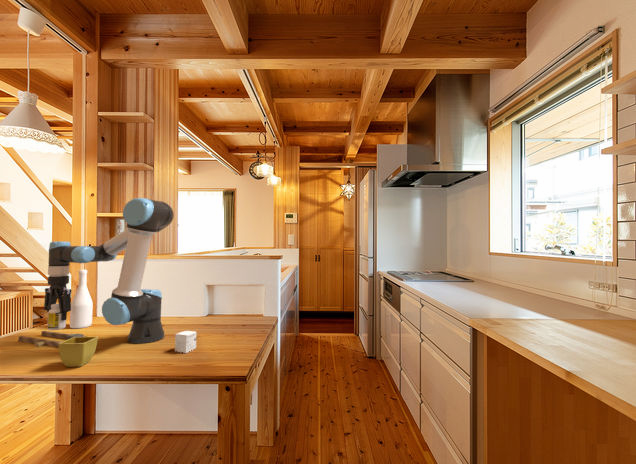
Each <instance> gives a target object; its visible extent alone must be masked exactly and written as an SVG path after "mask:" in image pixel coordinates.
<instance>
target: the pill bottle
mask: <svg viewBox="0 0 636 464" xmlns="http://www.w3.org/2000/svg"><path fill="white" fill-rule="evenodd" d="M59 312H60V308H59V302H58V303H56V304H52V305H51V310H49V312H47V316H48V318H47V323H48V327H47V331H58V330H63V329H65V328H66V327H63V328H58V321H59Z"/></svg>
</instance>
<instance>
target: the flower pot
mask: <svg viewBox="0 0 636 464" xmlns="http://www.w3.org/2000/svg"><path fill="white" fill-rule="evenodd" d="M98 341H99V336H87V337H73V338H71V339H68V340H67V339H65V340H64V341H60V342H61V343H59V347H58V351H59V358H60V361H61V362H62V364H63V365H64V366H65V367H67V368H68V367H82V366H84V365H86V364H88V363H90V361H91V360H92V358H93V356H94V354H95V352H96V350H97V349H96V348H97V345H98Z"/></svg>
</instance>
